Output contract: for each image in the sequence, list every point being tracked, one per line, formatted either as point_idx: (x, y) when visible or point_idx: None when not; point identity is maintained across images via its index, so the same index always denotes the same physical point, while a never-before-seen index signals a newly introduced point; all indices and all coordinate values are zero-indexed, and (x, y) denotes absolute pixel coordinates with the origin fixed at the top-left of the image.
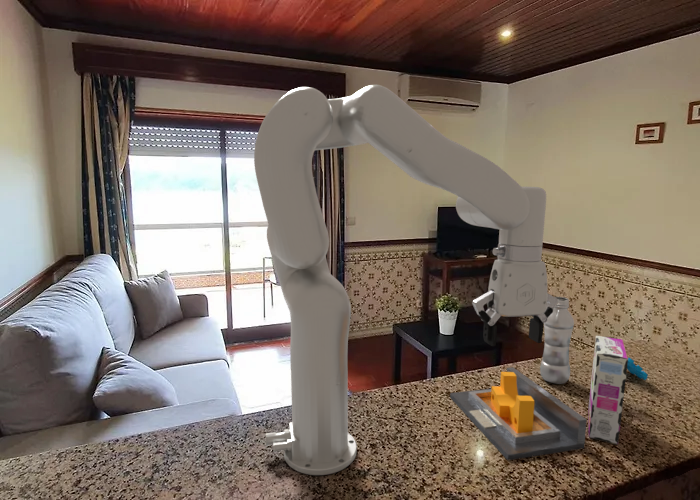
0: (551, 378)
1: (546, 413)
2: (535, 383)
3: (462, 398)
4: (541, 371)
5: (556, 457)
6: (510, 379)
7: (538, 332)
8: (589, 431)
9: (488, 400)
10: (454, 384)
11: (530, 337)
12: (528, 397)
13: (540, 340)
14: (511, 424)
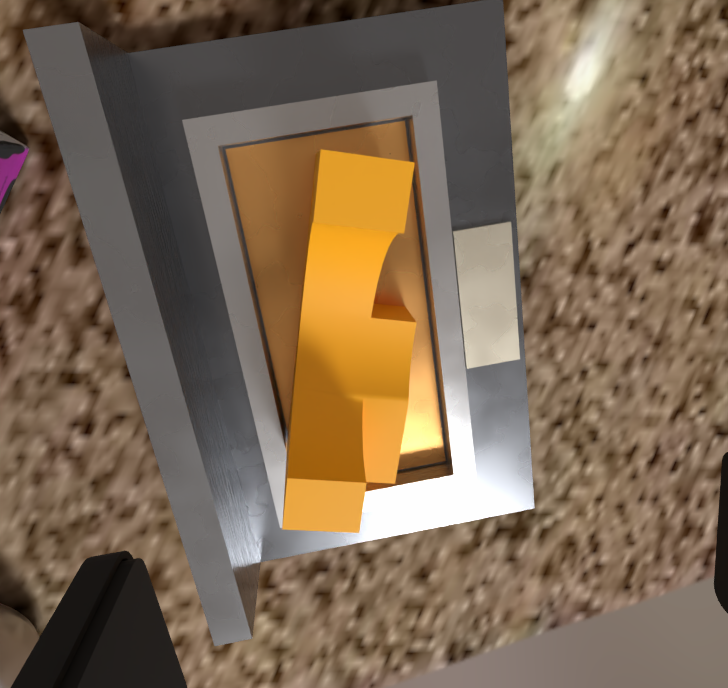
0: (5, 622)
1: (181, 290)
2: (163, 471)
3: (500, 465)
4: None
5: (262, 5)
6: (323, 468)
7: (90, 676)
8: (13, 148)
9: None
10: (464, 596)
11: (177, 680)
12: (338, 200)
13: (97, 572)
14: None
